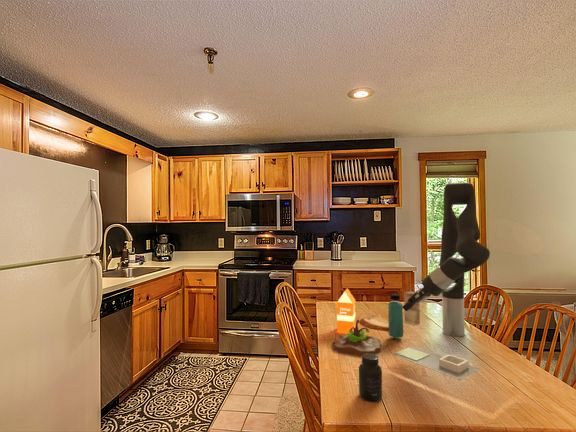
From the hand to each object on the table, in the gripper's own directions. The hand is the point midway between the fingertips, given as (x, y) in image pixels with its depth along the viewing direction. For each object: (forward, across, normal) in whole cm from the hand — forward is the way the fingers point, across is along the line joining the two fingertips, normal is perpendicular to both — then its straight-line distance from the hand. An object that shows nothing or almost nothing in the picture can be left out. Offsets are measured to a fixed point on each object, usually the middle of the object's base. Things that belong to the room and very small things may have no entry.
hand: (407, 307), depth 126 cm
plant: (+28, +5, 0) cm, 28 cm away
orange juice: (+38, -8, -11) cm, 40 cm away
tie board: (+6, 0, +20) cm, 21 cm away
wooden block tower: (+3, 0, +6) cm, 6 cm away
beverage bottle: (+22, -15, +5) cm, 27 cm away
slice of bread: (+33, -28, -6) cm, 43 cm away
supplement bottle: (+10, +37, +17) cm, 42 cm away
